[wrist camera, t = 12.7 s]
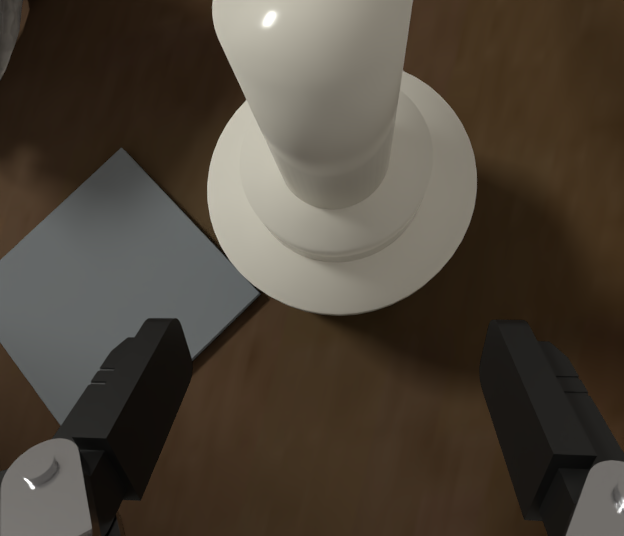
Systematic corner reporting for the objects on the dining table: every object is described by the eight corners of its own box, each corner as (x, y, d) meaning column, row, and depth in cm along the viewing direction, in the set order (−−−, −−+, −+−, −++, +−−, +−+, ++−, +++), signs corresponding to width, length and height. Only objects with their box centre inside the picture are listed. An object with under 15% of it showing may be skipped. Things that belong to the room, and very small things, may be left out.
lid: (340, 372, 17) (307, 408, 7) (169, 196, 19) (-43, 29, 9) (525, 182, 17) (750, -47, 7) (337, 34, 20) (311, -290, 10)
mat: (91, 459, 21) (86, 461, 21) (-29, 294, 24) (-36, 293, 23) (260, 294, 22) (259, 293, 21) (125, 150, 24) (121, 147, 24)
